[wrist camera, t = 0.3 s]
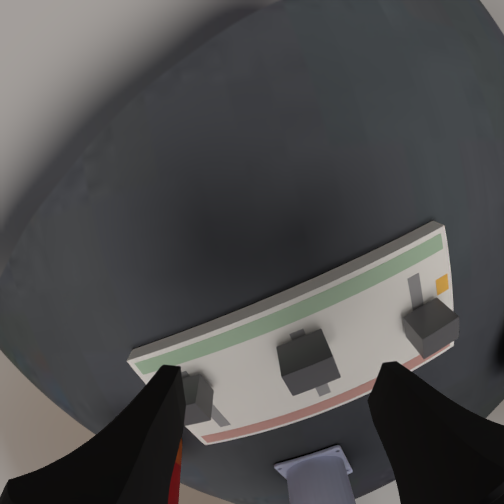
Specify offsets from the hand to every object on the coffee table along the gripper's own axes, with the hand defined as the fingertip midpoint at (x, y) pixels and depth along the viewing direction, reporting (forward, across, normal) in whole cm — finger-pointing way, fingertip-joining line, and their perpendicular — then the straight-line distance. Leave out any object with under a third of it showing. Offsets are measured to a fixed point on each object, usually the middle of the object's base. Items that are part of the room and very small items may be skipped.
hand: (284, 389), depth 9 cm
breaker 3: (+8, -12, +2) cm, 15 cm away
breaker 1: (+8, +5, +8) cm, 13 cm away
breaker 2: (+8, -3, +4) cm, 10 cm away
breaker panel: (+10, -4, +6) cm, 13 cm away
